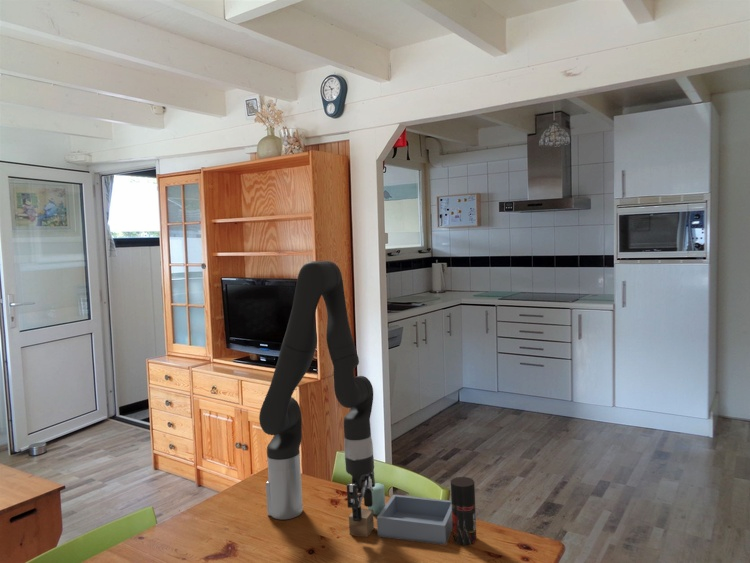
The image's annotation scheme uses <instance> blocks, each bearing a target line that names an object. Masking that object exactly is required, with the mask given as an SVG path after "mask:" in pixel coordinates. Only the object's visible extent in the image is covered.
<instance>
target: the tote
mask: <svg viewBox="0 0 750 563" xmlns="http://www.w3.org/2000/svg"><path fill="white" fill-rule="evenodd" d="M376 524H377V525H376V527H377V528H376V529H377V537H382V538H389V539H397V540H402V541H403V540H404V541H411V542H412V541H413V542H417V541H418V543H424V542H427V543H426V544H432V543H434V545H439V544H442V545H441V546H446V545H447V544H448V541H449V539H450V537H449V536H451V534H452V532H453V529H452V504H451V500H448V499H437V498H428V497H419V496H418V497H417V496H409V495H402V494H392V496H391V497H390V498H389V500H388V501H387V502H386V503H385V507H384V508H383V510H382V511H381V512H380V514H379V515H377V517H376ZM451 531H452V532H451ZM446 543H447V544H446Z"/></svg>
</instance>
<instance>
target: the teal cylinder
mask: <svg viewBox="0 0 750 563" xmlns="http://www.w3.org/2000/svg"><path fill="white" fill-rule="evenodd" d="M385 494H386V493H385V485H384V484H383V483H380V482H375V487H373V492H372V500H373V505H372V506H371V507H368V506H367V509H370V510H373V516H374V515H375V516H378V515H379V514H380V512H381V511H382V510H383V508H384V507H385V505H386V495H385Z"/></svg>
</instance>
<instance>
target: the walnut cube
mask: <svg viewBox="0 0 750 563" xmlns="http://www.w3.org/2000/svg"><path fill="white" fill-rule="evenodd" d="M361 514H362V520H361V521H360V522H358V521H354V520H353V513H352V512H351V513H350V514H349V516H348V524H349V535H350V536H356V537H357V536H358V537H366V538H368V537H369V535H370V534H371V533H372V531H373V530H374V528H375V522H374V520H375V519H374V515H373V510H370V509H368V508H361Z"/></svg>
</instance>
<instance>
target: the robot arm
mask: <svg viewBox="0 0 750 563" xmlns="http://www.w3.org/2000/svg"><path fill="white" fill-rule="evenodd" d="M321 297H322V299H323V301H324V304H325V308H326V311H327V312H326V315H327V319H326V320H327V321H326V322H327V323H326V336H325V337H326V345H327V350H328V353H329V355H330V360H331V363H332V366H333V367H332V368H333V390H334V395H335V397H336V400H337V401H338V403H339V404H340V405H341V406H342V407H344V408H346V409H349V412H348V413H347V414H346V415H345V416H344V418H343V432H344V434H343V435H344V443H343V449H344V460H345V461H344V462H345V464H344V465H345V471H346V473H347V474H348V475H350V476H351V482H350V483H347V484H346V496H347V497H346V498H347V502H346V503H347V508H349V509H350V508H351V510H352V512H351V513H353V520H354V521H358V522H360V521H361V520H362V514H361V509H362V506H361V504H362V500H363V504H364V507H367V508H368V507H371V506H372V505H373V500H372V492H373V487H375V483H376V481H375V479H376V478H375V470H374V469H375V462H374V461H375V459H374V457H375V456H374V447H373V439H372V430H371V415H372V409H373V403H374V402H373V401H374V388H373V385H372V382H371V381H370V379H369V378H368V377H366V376H364V375H357V376H355V368H357V367H358V365H359V364H360V359H359V356H358V352H357V348H356V344H355V342H354V338H353V335H352V331H351V327H350V321H349V316H348V310H347V309H348V308H347V305H346V304H347V302H346V297H345V290H344V280H343V276H342V272H341V270H340V267H339V266H338V265H337V264H336V263H335V262H333V261H329V260H314V261H313V260H312V261H307V262H306V263H304V264H303V265H302V267H301V268H300V270H299V272H298V275H297V279H296V285H295V291H294V296H293V302H292V308H291V311H290V315H289V318H288V323H287V326H286V331H285V334H284V337H283V340H282V343H281V346H280V350H279V354H278V359H277V362H276V365H275V367H274V368H275V369H274V372H273V375H272V379H271V382H270V386H269V388H268V390H267V393H266V395H265V398H264V399H263V400H264V401H263V403H262V404H261V407H260V410H259V416H258V417H259V425H260V428H261V430H262V431H263V432H264V433H265V434H266V435H269V436H273V437H272V439H271V440H270V442H269V443H268V444H267V447H266V460H267V474H268V475H267V476H268V480H267V481H266V482H265V494H266V511H267V515H268V516H270V517H271V518H272V519H275V520H291V519H294V518H297V517H298V516H301V514H302V513H303V509H304V508H303V490H302V475H301V474H302V472H301V471H302V470H301V457H300V456H301V455H300V446H301V444H302V437H303V435H302V434H303V428H302V427H303V425H302V422H303V420H302V410H301V407H300V404H299V403H298V401H297V400H296V399H295V398H293V397H292V396H293V393H294V391H295V390H296V389H297V387H298V385H299V384H300V382H301V381H302V380H303V378H304V377H305V375H306V373H308V370H309V368H310V367H311V364H312V362H313V358H314V355H315V353H316V352H315V351H316V349H317V344H318V333H317V328H316V324H315V323H316V322H315V321H316V320H315V319H316V318H315V317H316V312H317V308H318V304H319V301H320V299H321Z"/></svg>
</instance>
